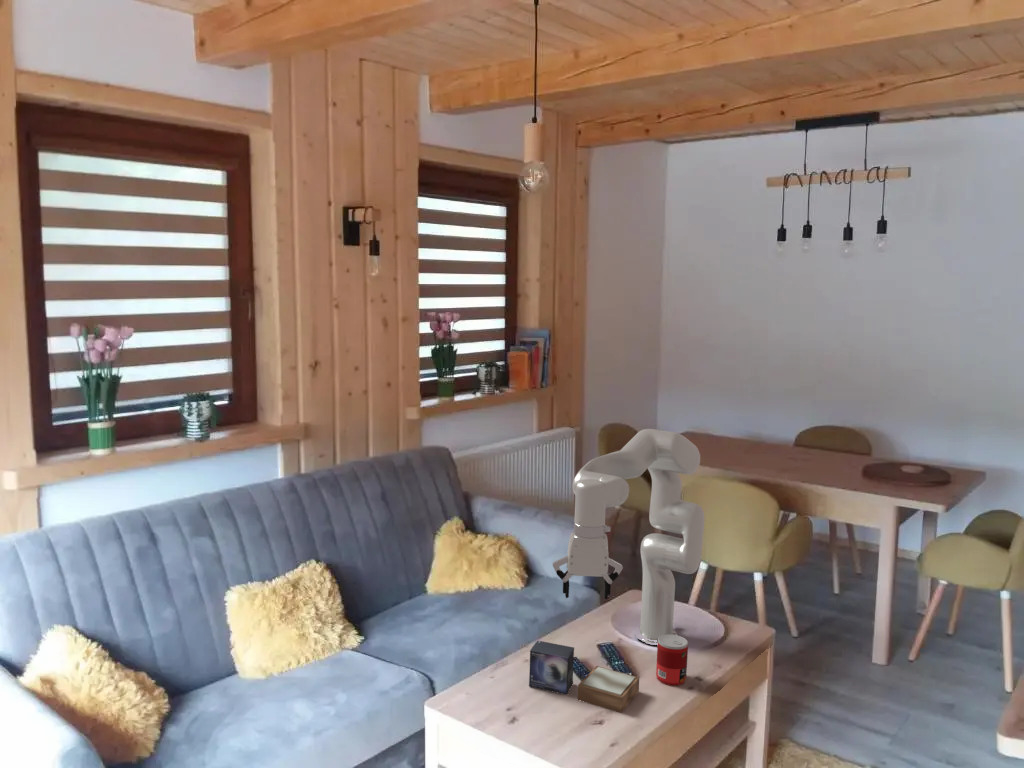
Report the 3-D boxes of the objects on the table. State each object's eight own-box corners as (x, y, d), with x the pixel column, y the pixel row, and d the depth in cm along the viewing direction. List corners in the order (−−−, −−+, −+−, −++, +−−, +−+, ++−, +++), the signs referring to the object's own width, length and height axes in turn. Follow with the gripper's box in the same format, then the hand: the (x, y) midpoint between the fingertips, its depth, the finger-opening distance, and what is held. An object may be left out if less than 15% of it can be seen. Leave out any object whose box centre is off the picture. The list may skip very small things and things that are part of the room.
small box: (527, 687, 220) (528, 649, 219) (535, 676, 226) (536, 639, 225) (566, 695, 217) (567, 657, 215) (573, 684, 223) (574, 646, 221)
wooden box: (596, 679, 225) (596, 664, 224) (638, 691, 219) (639, 676, 218) (577, 699, 214) (577, 684, 214) (621, 712, 209) (622, 696, 208)
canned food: (686, 687, 222) (688, 648, 220) (655, 684, 223) (657, 645, 222) (686, 674, 229) (688, 635, 228) (656, 670, 231) (658, 632, 229)
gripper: (622, 526, 211) (619, 592, 214) (553, 524, 211) (550, 589, 214) (626, 536, 204) (622, 603, 206) (554, 533, 204) (551, 601, 206)
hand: (586, 596), depth 210 cm, fingers open, 9 cm apart
